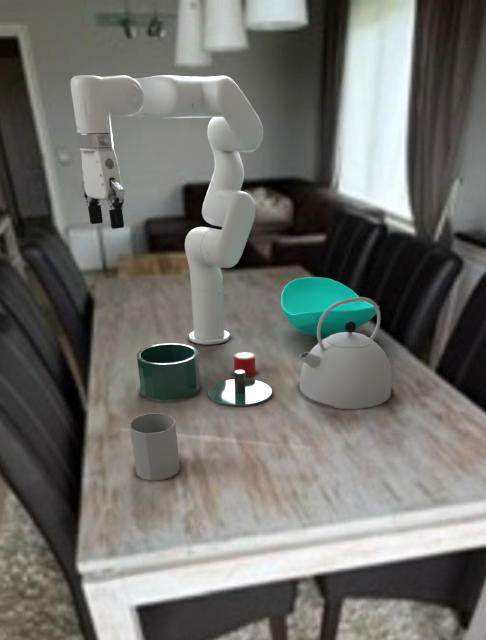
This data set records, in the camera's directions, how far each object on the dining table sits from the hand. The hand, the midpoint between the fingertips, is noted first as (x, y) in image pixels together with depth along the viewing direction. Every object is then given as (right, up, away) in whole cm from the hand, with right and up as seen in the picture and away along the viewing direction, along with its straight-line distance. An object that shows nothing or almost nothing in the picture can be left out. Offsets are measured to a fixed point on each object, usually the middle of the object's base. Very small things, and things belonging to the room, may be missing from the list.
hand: (107, 225), depth 136 cm
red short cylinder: (+33, -33, +14) cm, 49 cm away
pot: (+15, -39, +6) cm, 42 cm away
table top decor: (+58, -16, +40) cm, 73 cm away
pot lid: (+32, -40, +2) cm, 52 cm away
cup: (+17, -60, -26) cm, 67 cm away
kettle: (+57, -39, +5) cm, 70 cm away
